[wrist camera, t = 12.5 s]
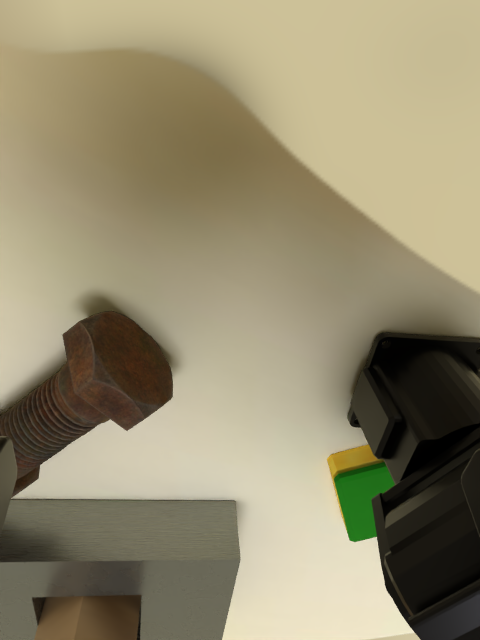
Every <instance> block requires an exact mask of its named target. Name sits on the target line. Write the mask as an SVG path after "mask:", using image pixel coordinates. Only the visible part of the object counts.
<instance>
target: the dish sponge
mask: <svg viewBox="0 0 480 640" xmlns="http://www.w3.org/2000/svg"><path fill="white" fill-rule="evenodd" d="M327 461H328V465H329V468H330V472H331V476H332V480H333V484H334V488H335V491H336V495H337V499H338V503H339V507H340V510H341V514H342V518H343V521H344V524H345V527H346V530H347V533H348V536H349V539H350V541H354V542H357V541H361V540H365V539H369V538H373V537H377V534H376V527H375V521H374V514H373V508H372V501H371V499H372V498H373V497H375V496H376V495H378V494H379V493H382V494H383V493H384V492H385V491H387V490H388V489H390V488H391V487H393V486H394V485H395V483H394V481H393V479H392V477H391V475H390V473H389V471H388V468H387V466H386V464H385V462H384V460H383V459H377V458H376V457H375V456H374V455H373V453H372V450H371V448H370V446H369V445H365V446H361V447H357V448H353V449H350V450H346V451H342V452H338V453H335V454H331V455H330V456H329V457H328V459H327Z"/></svg>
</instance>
